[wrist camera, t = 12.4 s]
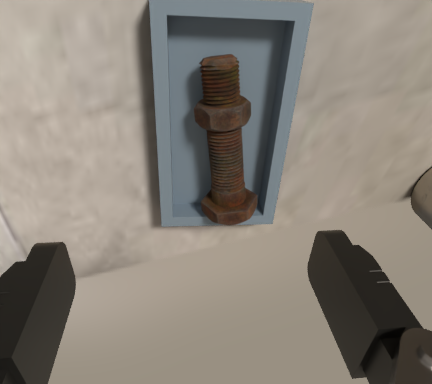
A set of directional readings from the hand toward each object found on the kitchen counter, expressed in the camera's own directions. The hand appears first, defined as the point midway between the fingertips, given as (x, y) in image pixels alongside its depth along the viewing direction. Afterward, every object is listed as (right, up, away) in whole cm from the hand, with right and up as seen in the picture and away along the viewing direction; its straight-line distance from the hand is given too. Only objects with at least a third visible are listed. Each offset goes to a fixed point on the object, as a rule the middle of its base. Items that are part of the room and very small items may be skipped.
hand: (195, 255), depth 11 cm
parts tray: (+1, +9, +21) cm, 23 cm away
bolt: (+1, +8, +21) cm, 23 cm away
